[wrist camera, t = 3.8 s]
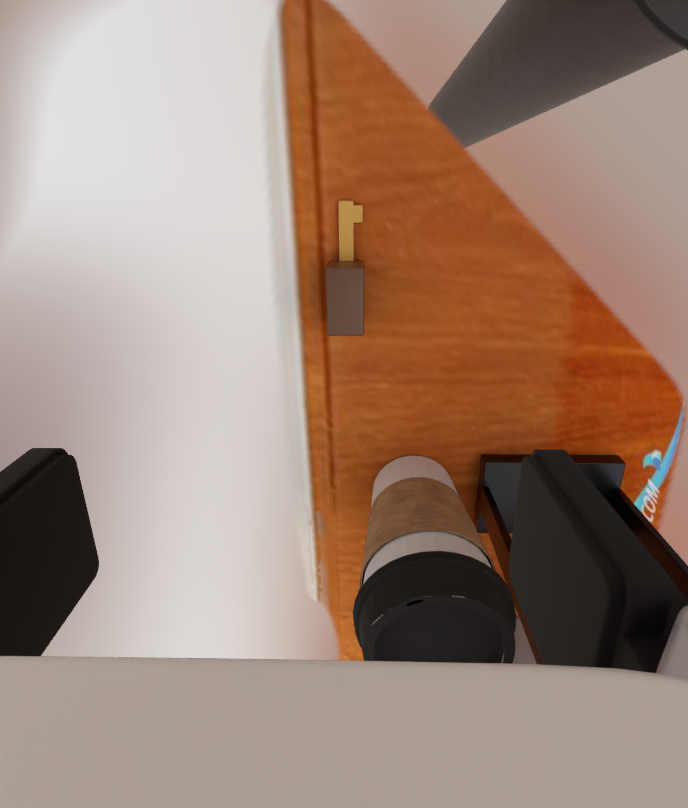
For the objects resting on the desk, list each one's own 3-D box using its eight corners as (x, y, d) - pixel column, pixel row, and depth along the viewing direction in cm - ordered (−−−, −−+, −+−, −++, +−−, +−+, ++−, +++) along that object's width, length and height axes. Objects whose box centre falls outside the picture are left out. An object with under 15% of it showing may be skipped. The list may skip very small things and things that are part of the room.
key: (363, 323, 34) (363, 336, 31) (330, 323, 34) (327, 336, 31) (364, 200, 31) (364, 201, 28) (327, 200, 31) (323, 201, 28)
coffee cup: (449, 423, 36) (502, 566, 22) (483, 517, 39) (549, 696, 25) (338, 461, 38) (324, 617, 24) (379, 549, 40) (387, 734, 27)
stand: (481, 454, 37) (628, 779, 16) (618, 455, 37) (943, 789, 16) (474, 523, 39) (595, 886, 19) (602, 525, 39) (870, 896, 18)
